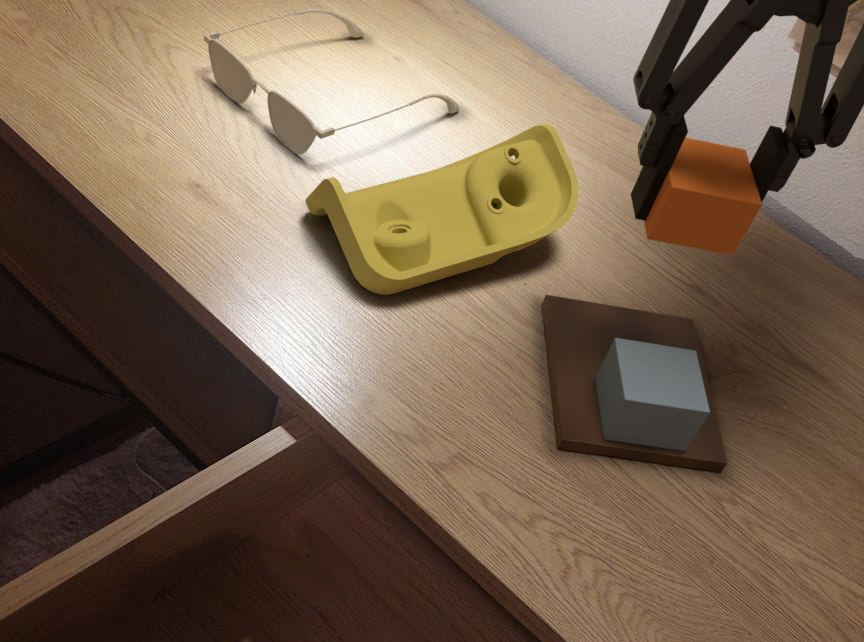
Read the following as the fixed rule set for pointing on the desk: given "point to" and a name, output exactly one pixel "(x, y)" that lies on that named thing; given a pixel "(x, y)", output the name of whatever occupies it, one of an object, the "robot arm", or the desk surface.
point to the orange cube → (705, 199)
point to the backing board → (581, 361)
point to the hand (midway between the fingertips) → (685, 215)
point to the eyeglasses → (283, 113)
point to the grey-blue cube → (651, 395)
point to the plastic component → (452, 212)
